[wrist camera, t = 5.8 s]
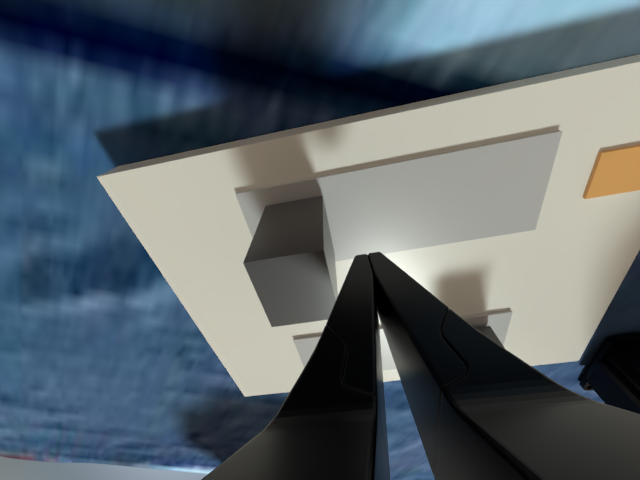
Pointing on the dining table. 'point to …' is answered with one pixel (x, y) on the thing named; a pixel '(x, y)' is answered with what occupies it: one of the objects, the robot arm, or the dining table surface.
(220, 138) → the dining table surface
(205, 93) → the dining table surface
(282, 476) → the robot arm
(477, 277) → the board
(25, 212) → the dining table surface
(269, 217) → the block
